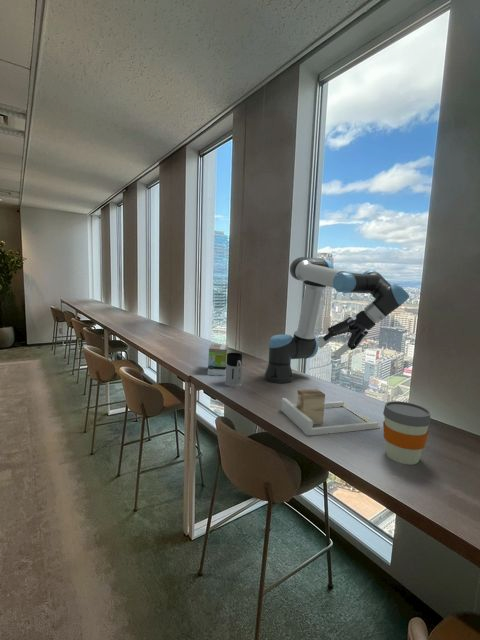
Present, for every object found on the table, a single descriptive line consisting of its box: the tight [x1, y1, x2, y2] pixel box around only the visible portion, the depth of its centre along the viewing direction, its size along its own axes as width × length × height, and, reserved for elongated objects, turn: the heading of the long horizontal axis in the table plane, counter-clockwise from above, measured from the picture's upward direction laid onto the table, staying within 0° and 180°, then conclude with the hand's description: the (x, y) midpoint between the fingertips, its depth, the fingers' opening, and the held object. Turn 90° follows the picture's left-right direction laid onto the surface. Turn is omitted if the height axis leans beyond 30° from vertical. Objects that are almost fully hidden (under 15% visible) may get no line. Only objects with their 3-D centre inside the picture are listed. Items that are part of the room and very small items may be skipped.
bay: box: [280, 397, 381, 437], centre depth 123 cm, size 22×29×5 cm
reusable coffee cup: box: [382, 400, 431, 466], centre depth 97 cm, size 13×13×15 cm
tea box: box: [207, 343, 229, 377], centre depth 180 cm, size 15×10×15 cm
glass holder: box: [224, 352, 243, 388], centre depth 157 cm, size 9×14×15 cm, turn 18°
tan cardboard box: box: [296, 388, 326, 425], centre depth 121 cm, size 6×8×11 cm
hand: (327, 350), depth 132 cm, fingers open, 13 cm apart
